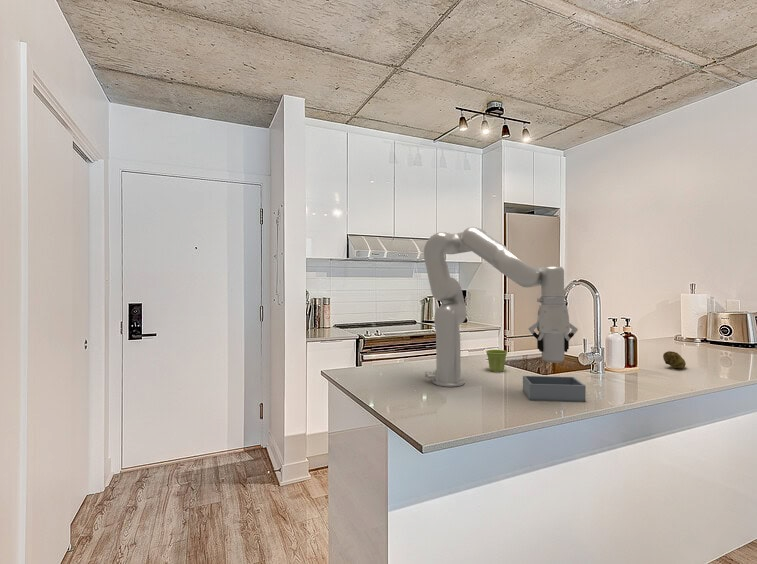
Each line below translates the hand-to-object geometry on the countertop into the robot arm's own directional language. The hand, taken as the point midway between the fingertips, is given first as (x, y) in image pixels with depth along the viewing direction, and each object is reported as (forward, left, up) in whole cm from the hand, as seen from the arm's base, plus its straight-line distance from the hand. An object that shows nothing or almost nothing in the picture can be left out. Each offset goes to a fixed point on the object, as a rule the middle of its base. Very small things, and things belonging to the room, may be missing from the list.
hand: (552, 350), depth 148 cm
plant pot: (-14, +37, -16) cm, 43 cm away
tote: (0, 0, -16) cm, 16 cm away
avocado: (+66, +49, -16) cm, 84 cm away
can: (0, 0, -4) cm, 4 cm away
